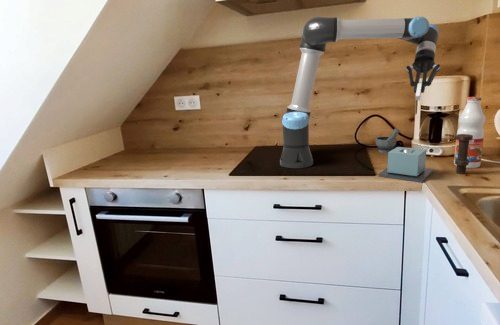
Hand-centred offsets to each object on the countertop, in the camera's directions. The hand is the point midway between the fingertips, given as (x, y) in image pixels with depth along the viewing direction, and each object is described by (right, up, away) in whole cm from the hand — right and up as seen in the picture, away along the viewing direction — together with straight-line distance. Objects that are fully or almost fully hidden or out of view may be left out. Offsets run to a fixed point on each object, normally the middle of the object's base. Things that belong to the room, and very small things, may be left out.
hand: (417, 98), depth 138 cm
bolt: (+15, -30, -4) cm, 34 cm away
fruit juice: (+23, -27, +6) cm, 36 cm away
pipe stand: (-5, -30, -1) cm, 31 cm away
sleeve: (-5, -29, -2) cm, 30 cm away
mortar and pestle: (+1, -21, +35) cm, 41 cm away
